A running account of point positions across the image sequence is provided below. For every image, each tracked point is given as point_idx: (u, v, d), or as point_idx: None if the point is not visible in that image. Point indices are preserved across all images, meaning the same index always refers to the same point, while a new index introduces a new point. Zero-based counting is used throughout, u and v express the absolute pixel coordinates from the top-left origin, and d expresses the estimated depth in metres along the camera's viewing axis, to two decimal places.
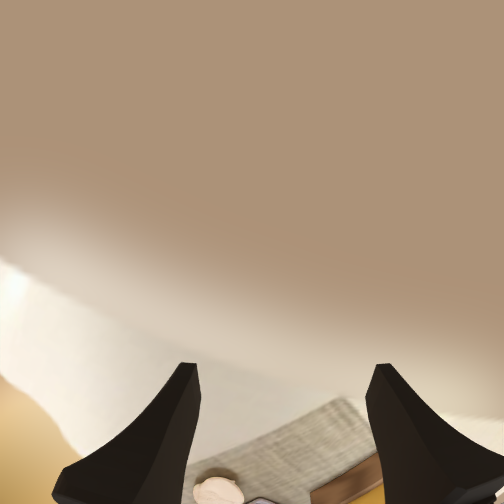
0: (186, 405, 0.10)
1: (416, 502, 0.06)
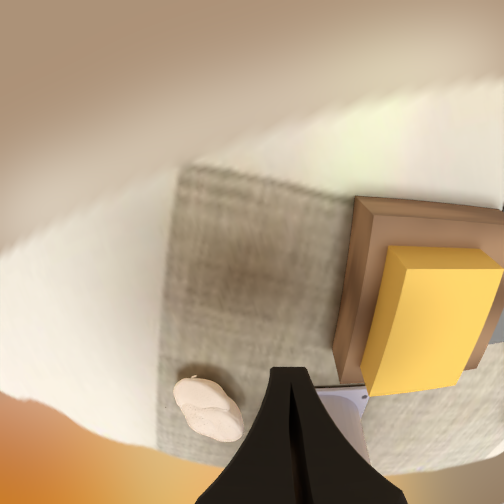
0: None
1: None
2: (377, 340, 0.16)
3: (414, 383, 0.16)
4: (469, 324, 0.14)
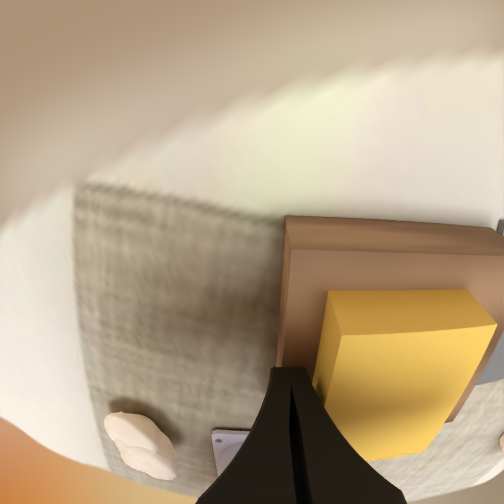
0: None
1: None
2: None
3: (366, 454, 0.12)
4: (442, 393, 0.10)
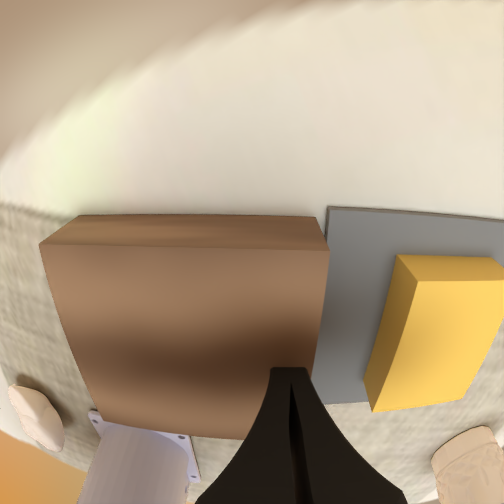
0: None
1: None
2: None
3: None
4: None
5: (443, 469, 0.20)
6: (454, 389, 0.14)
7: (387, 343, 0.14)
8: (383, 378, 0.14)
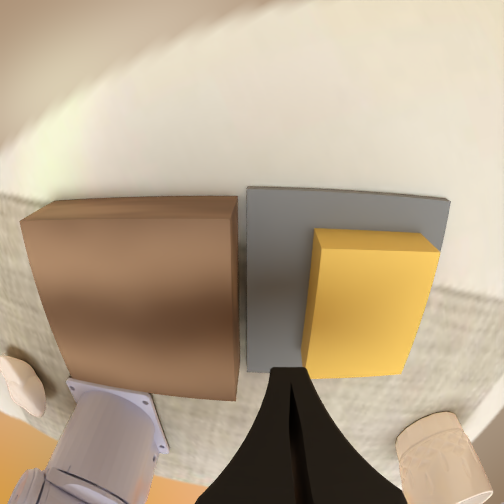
0: None
1: None
2: None
3: None
4: None
5: (405, 453, 0.22)
6: (389, 363, 0.17)
7: (310, 310, 0.16)
8: (308, 344, 0.16)
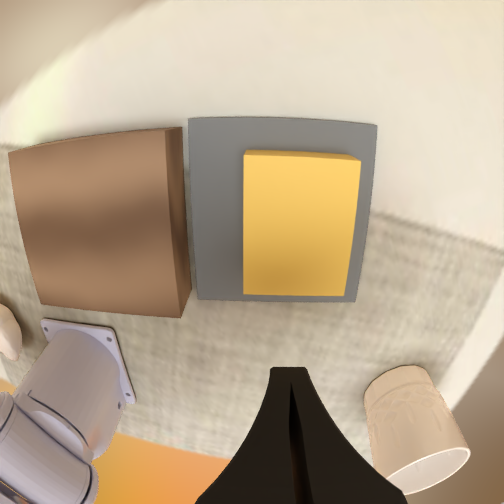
0: None
1: None
2: None
3: None
4: None
5: (371, 407, 0.24)
6: (328, 281, 0.19)
7: None
8: (243, 254, 0.18)
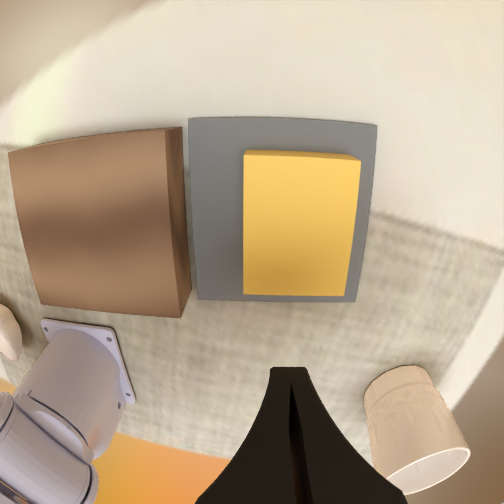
0: None
1: None
2: None
3: None
4: None
5: (371, 407, 0.24)
6: (328, 281, 0.19)
7: None
8: (243, 254, 0.18)
